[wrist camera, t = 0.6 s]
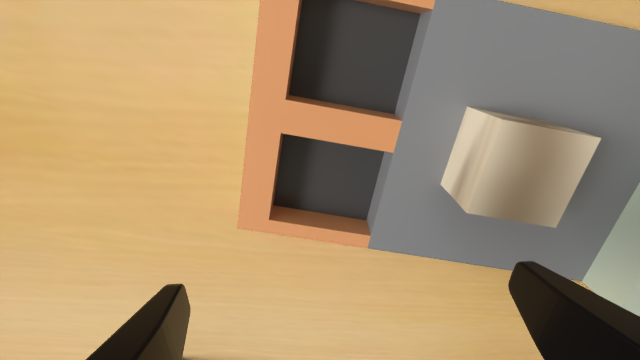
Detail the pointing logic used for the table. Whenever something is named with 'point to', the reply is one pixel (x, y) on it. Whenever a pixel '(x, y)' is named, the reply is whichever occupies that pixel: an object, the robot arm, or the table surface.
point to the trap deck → (439, 130)
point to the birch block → (516, 166)
